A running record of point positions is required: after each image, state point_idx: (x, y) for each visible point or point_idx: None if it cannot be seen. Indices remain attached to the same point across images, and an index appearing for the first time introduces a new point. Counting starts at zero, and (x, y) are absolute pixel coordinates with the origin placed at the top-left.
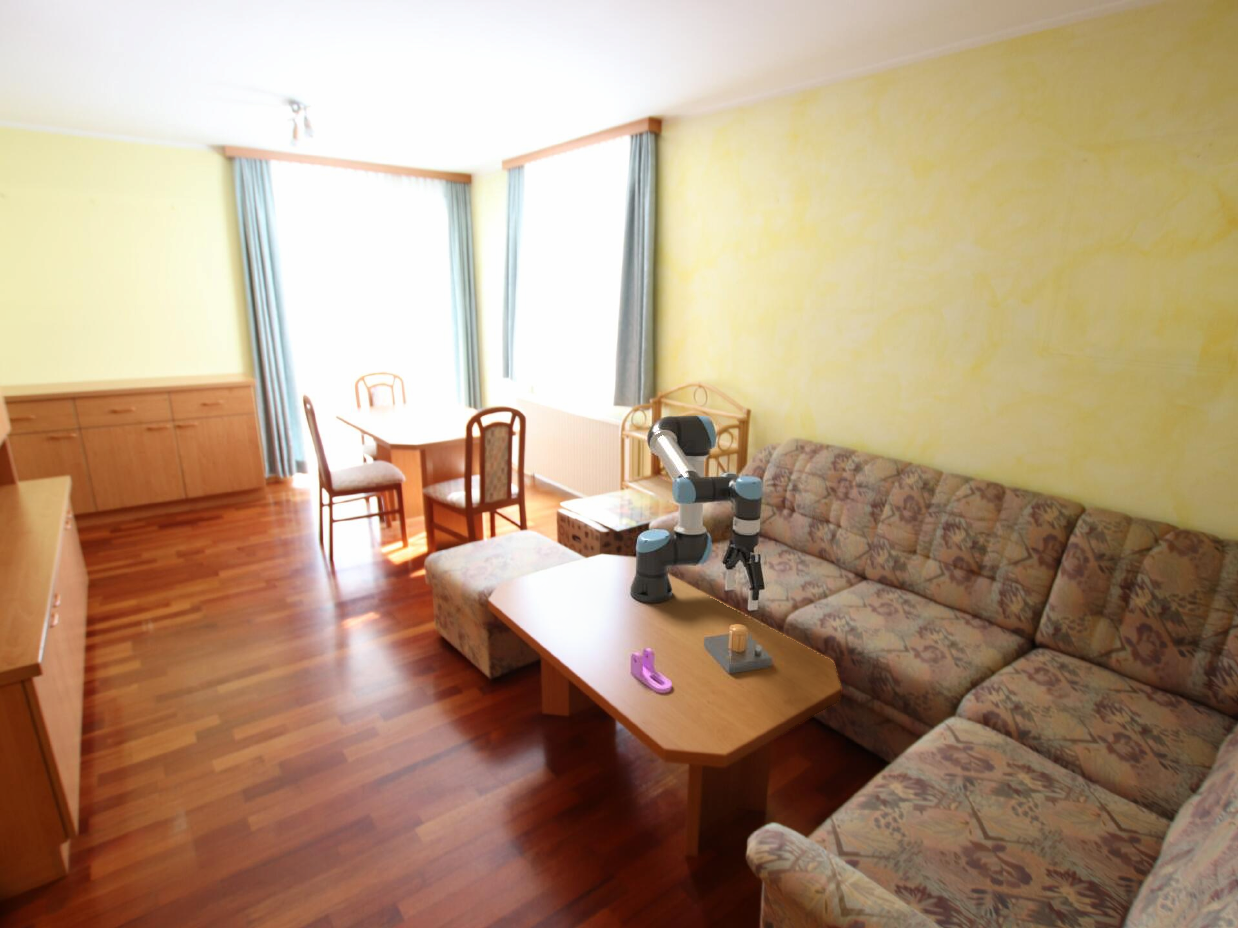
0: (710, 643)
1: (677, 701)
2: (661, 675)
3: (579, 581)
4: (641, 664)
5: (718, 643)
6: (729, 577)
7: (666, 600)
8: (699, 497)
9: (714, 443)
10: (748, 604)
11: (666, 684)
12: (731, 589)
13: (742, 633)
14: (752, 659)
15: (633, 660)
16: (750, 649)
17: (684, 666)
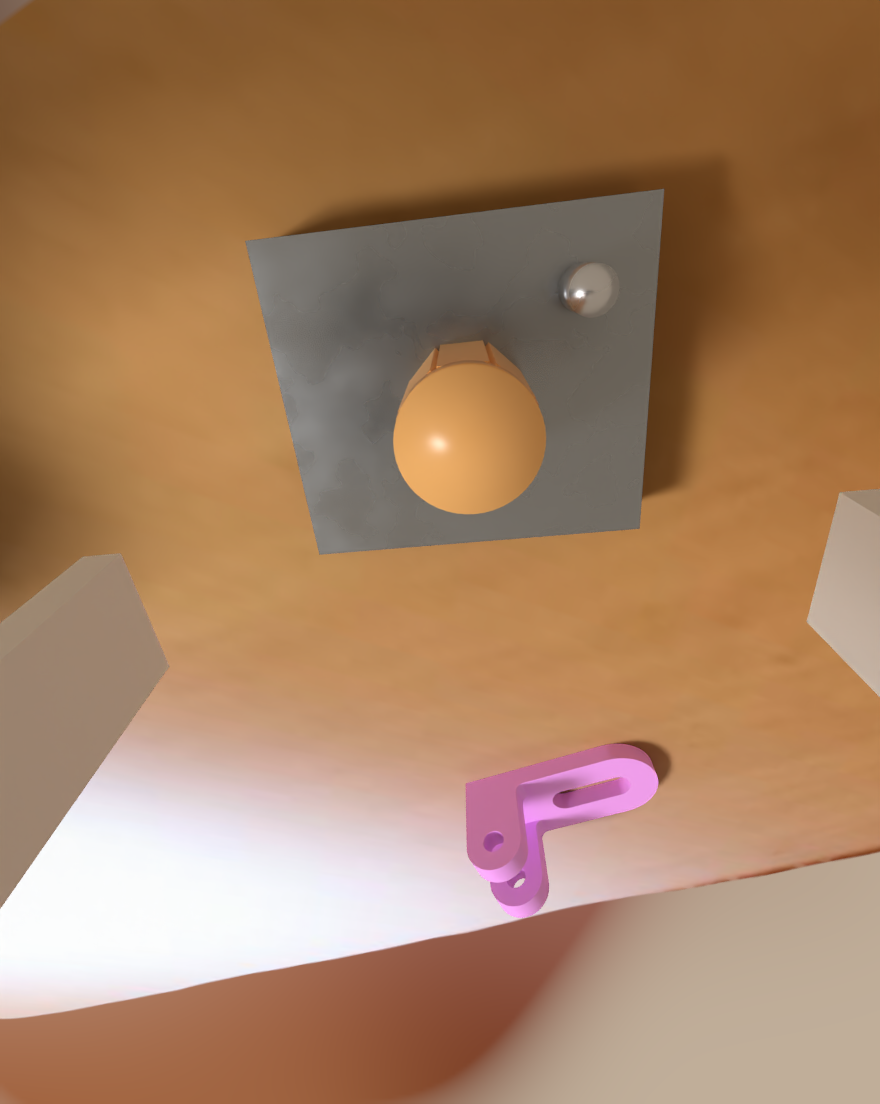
0: (392, 544)
1: (723, 751)
2: (567, 774)
3: None
4: (544, 866)
5: (399, 500)
6: (14, 818)
7: None
8: None
9: None
10: (873, 677)
11: (634, 775)
12: (138, 598)
13: (545, 439)
14: (640, 365)
15: (512, 885)
16: (515, 319)
17: (498, 664)
